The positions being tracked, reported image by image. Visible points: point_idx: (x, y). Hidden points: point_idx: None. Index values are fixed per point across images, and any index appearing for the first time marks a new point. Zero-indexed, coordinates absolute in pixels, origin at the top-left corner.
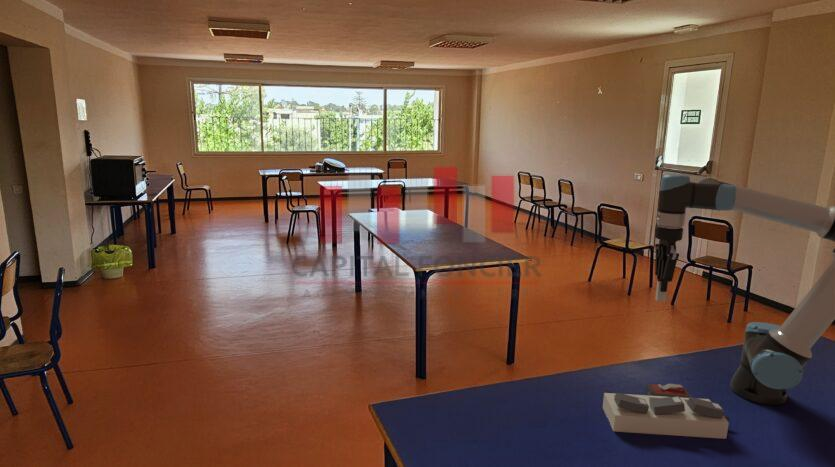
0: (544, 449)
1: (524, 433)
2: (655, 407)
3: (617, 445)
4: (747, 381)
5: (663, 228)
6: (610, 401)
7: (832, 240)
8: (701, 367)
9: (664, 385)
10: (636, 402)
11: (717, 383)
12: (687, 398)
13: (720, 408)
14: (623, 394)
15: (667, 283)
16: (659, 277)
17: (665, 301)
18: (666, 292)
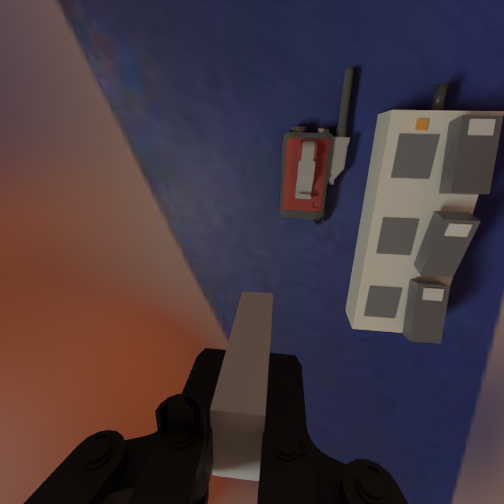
0: (451, 412)
1: (409, 425)
2: (453, 274)
3: (459, 322)
4: None
5: None
6: (385, 327)
7: None
8: (139, 8)
9: (296, 183)
10: (440, 310)
11: (227, 2)
12: (385, 166)
13: (494, 123)
14: (414, 328)
15: (305, 426)
16: (207, 492)
17: (272, 296)
18: (269, 334)
